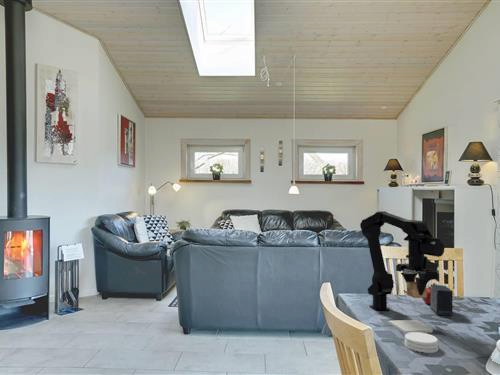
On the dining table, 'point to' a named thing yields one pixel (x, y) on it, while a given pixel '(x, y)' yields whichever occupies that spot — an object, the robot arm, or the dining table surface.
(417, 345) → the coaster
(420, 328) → the white board
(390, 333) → the dining table surface
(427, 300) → the pomegranate
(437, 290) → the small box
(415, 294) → the oak cube
